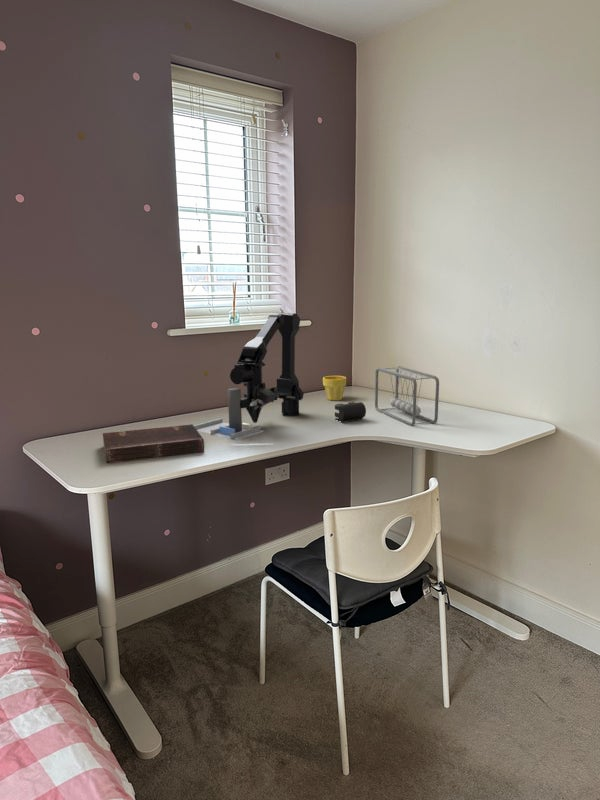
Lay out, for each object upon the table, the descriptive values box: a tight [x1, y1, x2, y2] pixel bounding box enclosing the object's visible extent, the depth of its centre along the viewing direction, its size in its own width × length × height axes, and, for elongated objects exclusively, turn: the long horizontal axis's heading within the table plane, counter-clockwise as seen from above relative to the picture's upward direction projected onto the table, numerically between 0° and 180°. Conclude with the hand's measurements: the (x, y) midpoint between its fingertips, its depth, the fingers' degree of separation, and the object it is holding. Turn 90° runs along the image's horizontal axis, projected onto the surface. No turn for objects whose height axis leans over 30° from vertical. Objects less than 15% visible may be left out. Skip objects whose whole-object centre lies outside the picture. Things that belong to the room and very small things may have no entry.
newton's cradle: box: [374, 366, 440, 427], centre depth 220 cm, size 30×10×18 cm, turn 20°
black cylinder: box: [334, 401, 367, 423], centre depth 216 cm, size 10×7×7 cm
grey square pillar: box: [227, 387, 243, 433], centre depth 198 cm, size 4×4×15 cm
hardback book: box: [102, 424, 205, 464], centre depth 182 cm, size 29×19×5 cm, turn 111°
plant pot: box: [322, 375, 347, 401], centre depth 254 cm, size 10×10×10 cm
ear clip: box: [242, 422, 254, 429], centre depth 203 cm, size 4×2×1 cm, turn 52°
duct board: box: [192, 417, 265, 441], centre depth 202 cm, size 24×14×3 cm, turn 52°
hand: (255, 422), depth 207 cm, fingers closed
